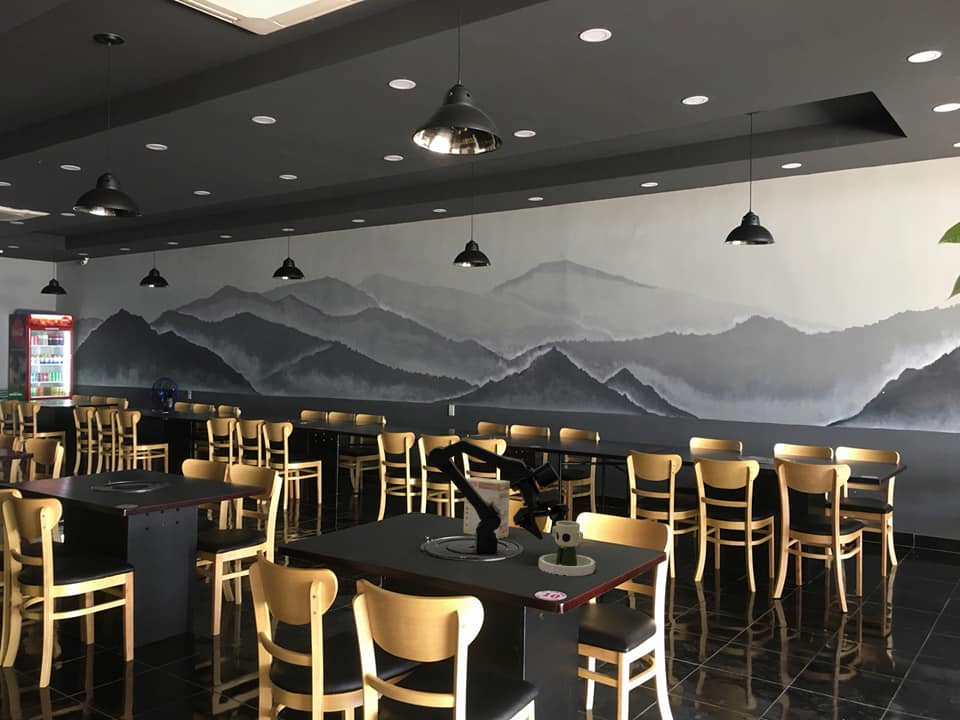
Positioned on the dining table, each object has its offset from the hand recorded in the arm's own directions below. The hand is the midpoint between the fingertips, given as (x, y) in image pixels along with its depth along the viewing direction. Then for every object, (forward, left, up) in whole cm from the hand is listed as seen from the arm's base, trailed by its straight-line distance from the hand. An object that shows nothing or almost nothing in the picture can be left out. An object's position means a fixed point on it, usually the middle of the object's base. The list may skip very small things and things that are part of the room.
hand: (553, 537), depth 228 cm
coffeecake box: (-11, +41, -8) cm, 44 cm away
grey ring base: (+3, -5, -8) cm, 10 cm away
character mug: (+3, -5, -8) cm, 10 cm away
